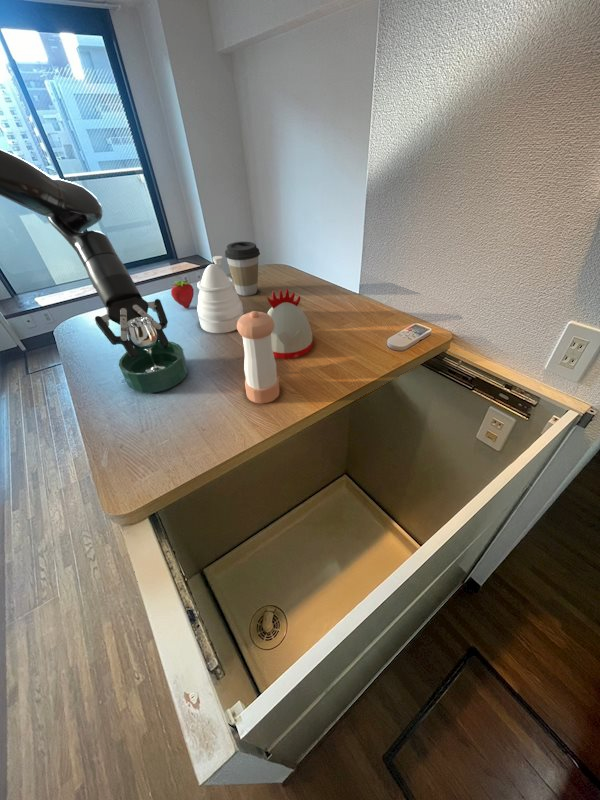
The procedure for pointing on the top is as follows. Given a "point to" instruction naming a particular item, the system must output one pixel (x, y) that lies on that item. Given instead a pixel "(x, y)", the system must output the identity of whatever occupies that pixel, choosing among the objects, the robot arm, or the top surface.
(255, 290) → the coffee cup
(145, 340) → the wineglass
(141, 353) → the green bowl
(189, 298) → the strawberry
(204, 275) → the honey pot
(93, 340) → the top surface
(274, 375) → the salt shaker
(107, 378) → the top surface
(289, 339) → the kitchen timer
